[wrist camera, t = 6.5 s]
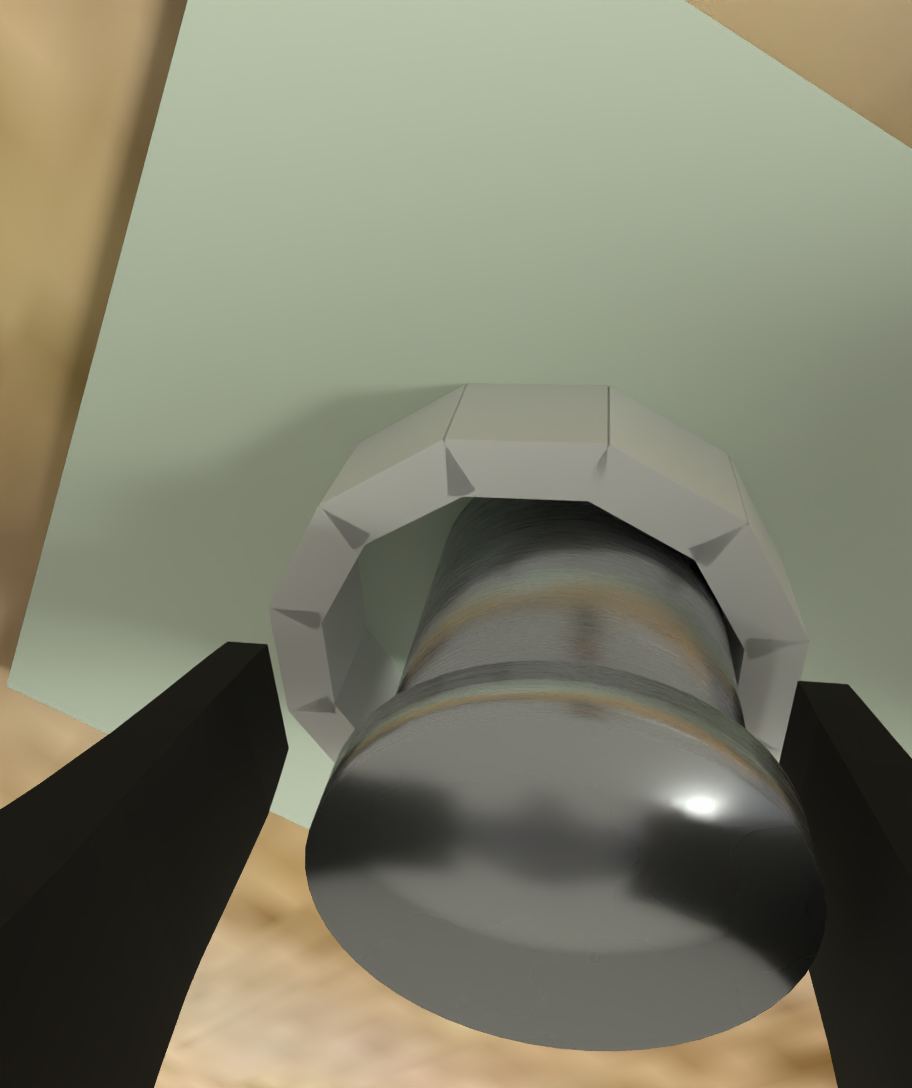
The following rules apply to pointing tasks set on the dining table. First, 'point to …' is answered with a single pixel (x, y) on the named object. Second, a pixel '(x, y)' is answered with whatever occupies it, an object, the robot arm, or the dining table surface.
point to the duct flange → (483, 352)
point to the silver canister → (568, 800)
